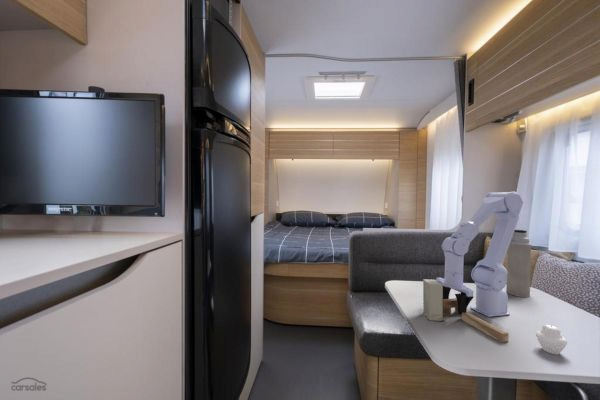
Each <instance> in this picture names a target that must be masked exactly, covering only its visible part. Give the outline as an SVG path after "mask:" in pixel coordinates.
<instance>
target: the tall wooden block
mask: <svg viewBox="0 0 600 400" xmlns="http://www.w3.org/2000/svg"><path fill="white" fill-rule="evenodd" d="M452 309H454V313H456V314H457V315H459V314H458V303H457V299H456V297H455V298H449V299H443V317H444V316H451V315H452ZM467 310H468V308H467V309H466V312H468V311H467Z"/></svg>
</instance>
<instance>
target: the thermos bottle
mask: <svg viewBox="0 0 600 400" xmlns="http://www.w3.org/2000/svg"><path fill="white" fill-rule="evenodd" d="M527 232H528V231H527V230H525V229H515V231H514V233H513V236H512V239H511V242H510V245H509V247H508V250H507V253H506V257H507V259H506V270H507V271H508V274H507V284H506V286H505V287H506V289H505V291H506V293H507V294H509V295H512V296H515V297H521V298H529V297H530V296H531V269H532V268H531V267H532V266H531V265H532V243H530V238H529V237H527V235H528V234H527Z"/></svg>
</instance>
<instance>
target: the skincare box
mask: <svg viewBox="0 0 600 400" xmlns="http://www.w3.org/2000/svg"><path fill="white" fill-rule="evenodd" d="M422 282H423V285H422V286H423V287H422V288H423V289H422V290H423V291H422V292H423V293H422V295H423V296H422V297H423V298H422V299H423V300H422V301H423V302H422V303H423V305H422V306H423V307H422V311H423V314H424V316H425V317H426V318H427V319H428V320H429V321H433V322H434V321H436V322H437V321H438V322H442V321H444V318H443V317H444V316H443V284H441V283H440V282H438V281H437V280H436V279H431V278H430V279H429V278H428V279H425V278H423V279H422Z"/></svg>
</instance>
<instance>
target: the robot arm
mask: <svg viewBox="0 0 600 400" xmlns="http://www.w3.org/2000/svg"><path fill="white" fill-rule="evenodd" d="M523 205H524V201H523V199H522V197H521V195H520V194H519V193H518V192H516V191H510V192H509V191H508V192H507V191H505V192H504V191H503V192H494V191H491V192H487V194H486V195H485V197H483V198H482V204H481V206H480V207H479V208H478V209H477V210H476V211H475V213H474V214H473V215H472V217H471V218H470V219H469V221H467V220H466V221H463V222H461V223H460V224H459V227H458V228H457V229H456V230H455V231H454V232H452V234H451V236H449V237H445V239H444V240H443V241H442V243H441V249H442V251H443V255H444V277H436V279H435V280H437V281H438V282H440V283H441V284H443V299H450V293H451V290H453V291H456V292H458V293H454V295H455V298H456V299H457V303H458V314H457V315H460V316H462V313H465V312H466V309H467V310H468V306H469V304H470V303H471V302H472V300H473V299H474V290H473V289H471V288H469V287H467V286H466V285H465V284H464V261H465V259H464V257H465V254H466V253H468V251H469V246H470V244H471V242H472V241H473V240H474V239H475V238H476V236H477V235H478V234H479V233H480V228H479V227H480V226H481V225H482V224H484V223H485V222H486V221H487V220H488V219H489V218H490V217H491V216H492V215H494V216H496V218H497V219H498V221H497V224H496V225H495V228H494V231H493V235H492V237H491V240H490V242H489V244H488V245H489V246H488V248H487V250H486V253H485V256H484V258H482V259H480V260H478V261H477V262H476V264H475V266H474V267H473V268H472V269H471V273H470V276H471V279H472V280H473V281H474V285H475V305H471V306H469V309H472V310H474V311H476V312H478V313H479V314H481V315H484V316H486V317H488V318H490V317H500V316H501V317H502V316H510V313H509V312H508V306H509V305H508V303H509V296H508V293H507V292H506V289H504V288H505V287H506V286H507V274H508V271H507V268H506V267H505V266H504V262H505V258H506V257H507V250H508V247H509V245H510V242H511V239H512V236H513V233H514V231H515V230H516V229H517V225H518V223H519V222H518V221H519V218H520V213H521V210H522V208H523Z"/></svg>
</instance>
